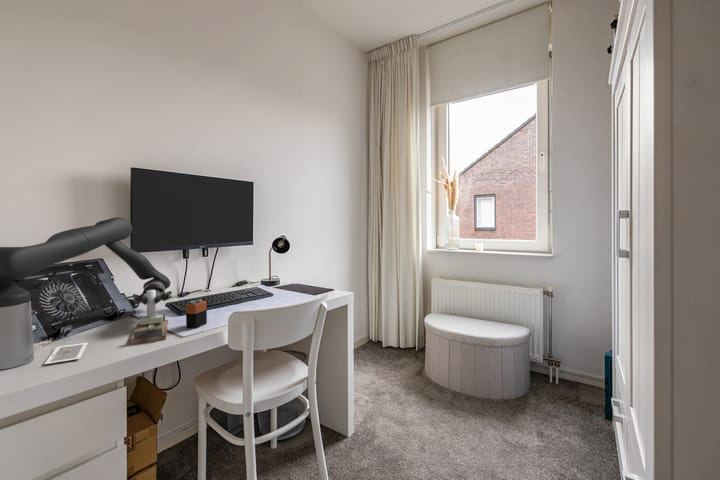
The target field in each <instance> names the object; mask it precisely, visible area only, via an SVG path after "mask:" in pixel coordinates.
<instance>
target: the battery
mask: <svg viewBox="0 0 720 480" xmlns="http://www.w3.org/2000/svg"><path fill="white" fill-rule="evenodd" d="M207 310H208V309H207V301H206V300H202V299H201V298H198V299H197V300H191V301H190V302H189V303H186V304H185V325H186V326H185V327H186V328H188V329H197V328H198V329H199V328H200V327H202V326H204V325H207V323H208V322H207V321H208V319H207V318H208V315H207Z"/></svg>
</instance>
